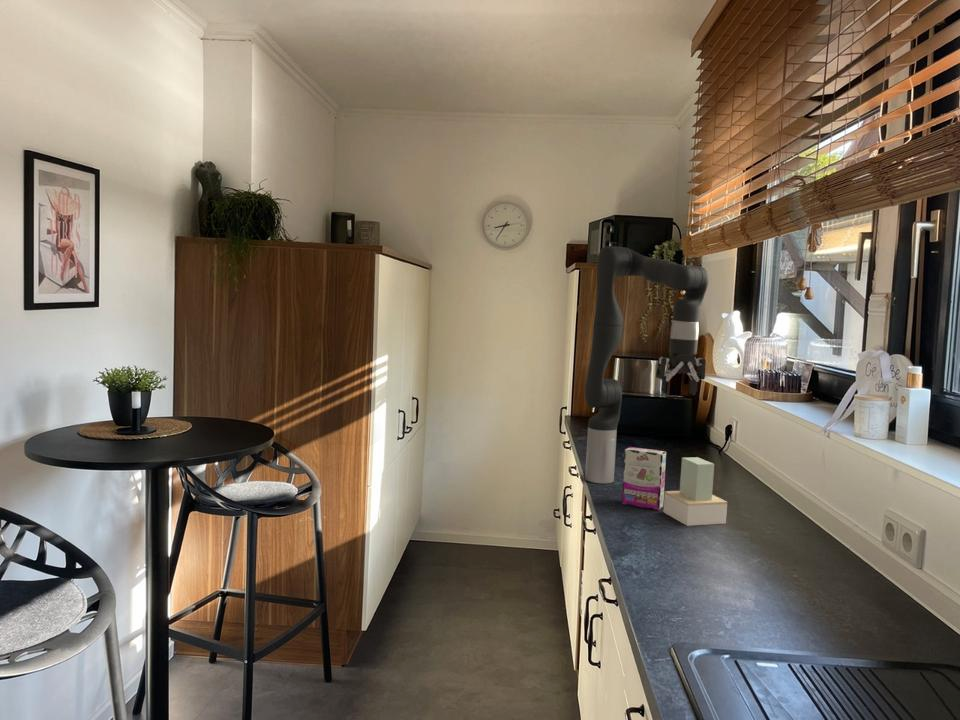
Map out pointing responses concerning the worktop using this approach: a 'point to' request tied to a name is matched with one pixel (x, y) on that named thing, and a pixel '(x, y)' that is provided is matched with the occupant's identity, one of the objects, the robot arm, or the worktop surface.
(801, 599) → the worktop surface
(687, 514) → the podium
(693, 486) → the sage carton
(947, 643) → the worktop surface
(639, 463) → the candy bar box
